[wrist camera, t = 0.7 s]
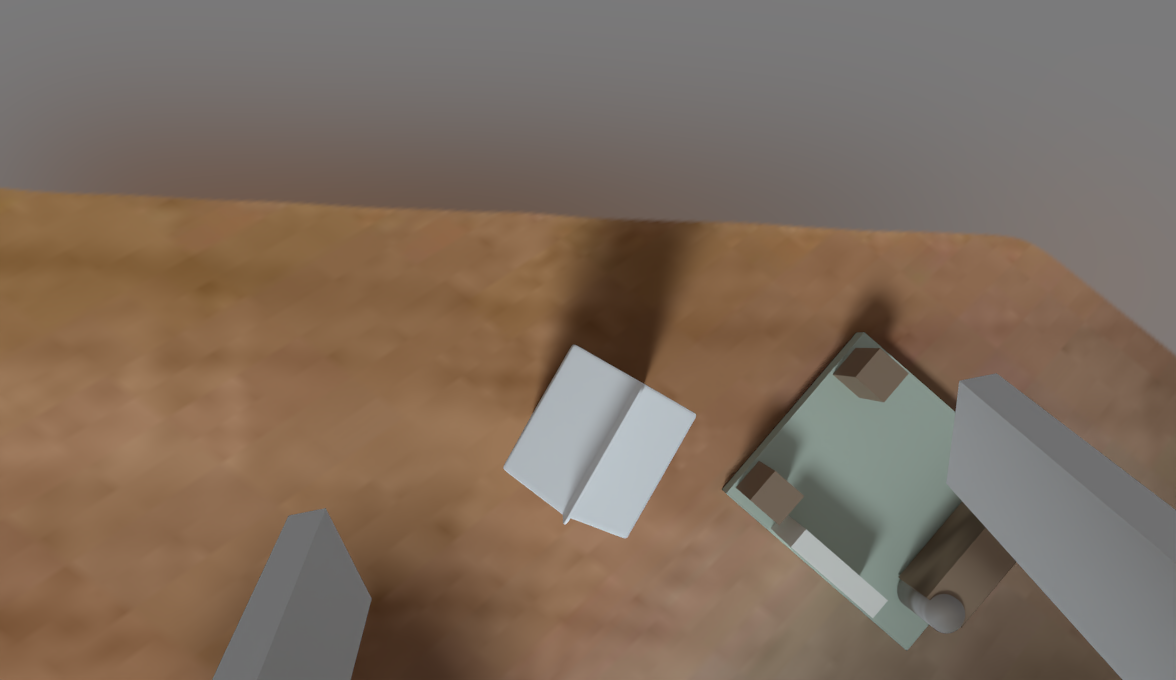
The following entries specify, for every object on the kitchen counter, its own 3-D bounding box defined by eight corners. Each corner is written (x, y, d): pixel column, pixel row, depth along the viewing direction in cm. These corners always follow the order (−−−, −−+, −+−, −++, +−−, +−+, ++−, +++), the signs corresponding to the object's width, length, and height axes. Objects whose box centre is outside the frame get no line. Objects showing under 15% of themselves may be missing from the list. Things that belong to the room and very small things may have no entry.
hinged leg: (918, 618, 44) (952, 643, 40) (887, 590, 44) (917, 613, 40) (1025, 491, 44) (1068, 505, 40) (993, 463, 44) (1034, 475, 40)
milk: (531, 415, 44) (486, 486, 22) (573, 342, 45) (570, 341, 23) (604, 458, 45) (632, 569, 23) (646, 384, 45) (715, 424, 23)
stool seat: (1030, 485, 45) (1089, 503, 40) (898, 642, 45) (940, 681, 40) (856, 332, 45) (893, 330, 40) (722, 489, 45) (741, 508, 40)
